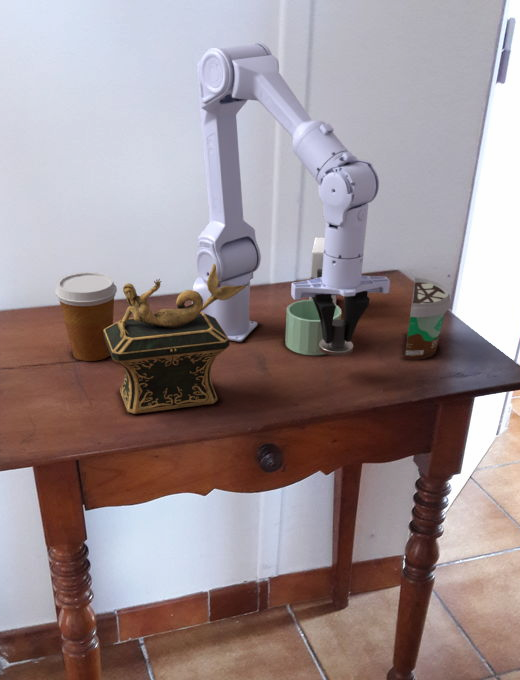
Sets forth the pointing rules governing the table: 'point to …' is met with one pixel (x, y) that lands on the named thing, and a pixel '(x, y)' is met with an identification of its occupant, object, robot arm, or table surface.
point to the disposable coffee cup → (87, 312)
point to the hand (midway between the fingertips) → (336, 339)
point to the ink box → (318, 262)
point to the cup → (305, 327)
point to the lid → (337, 341)
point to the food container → (426, 318)
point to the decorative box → (168, 349)
